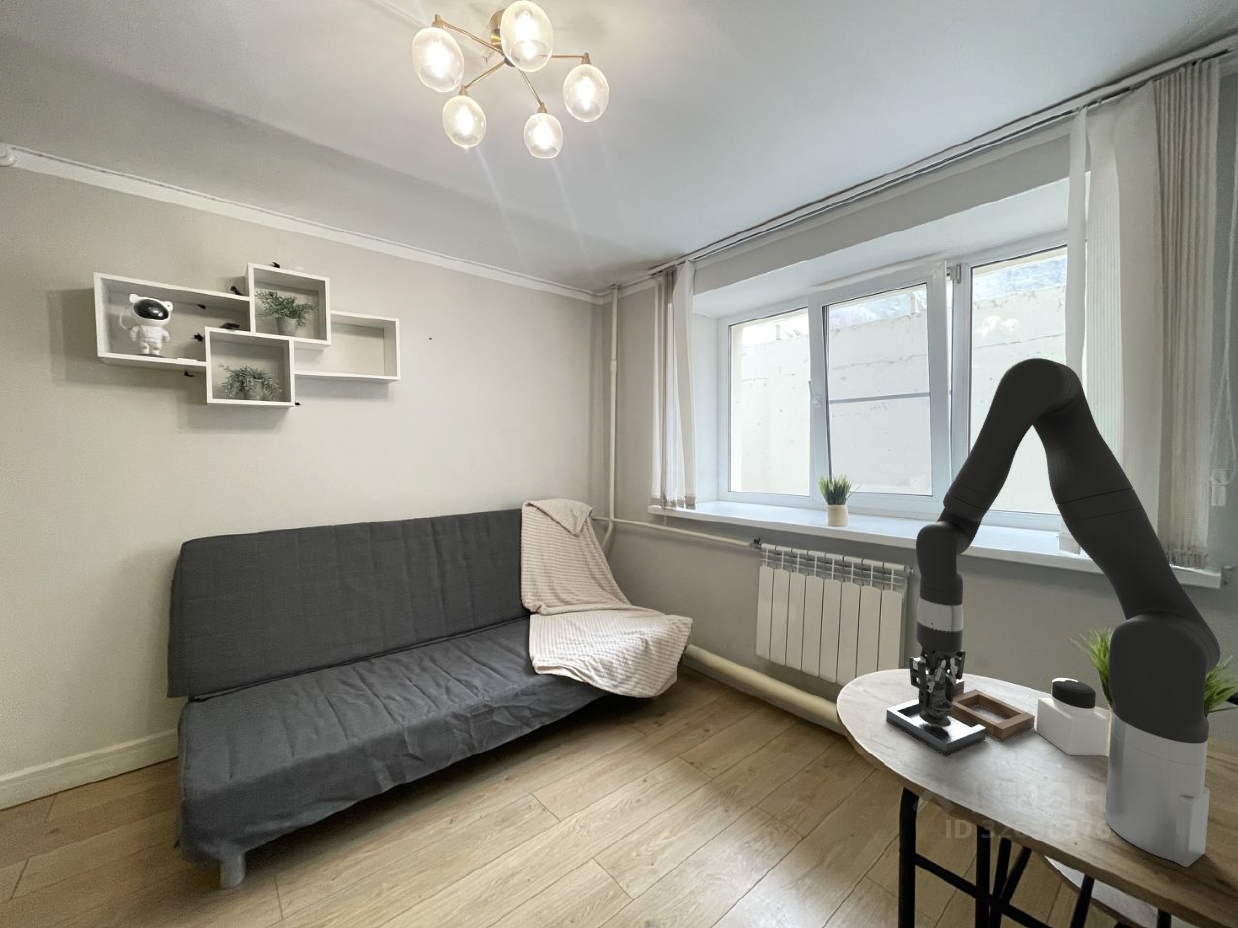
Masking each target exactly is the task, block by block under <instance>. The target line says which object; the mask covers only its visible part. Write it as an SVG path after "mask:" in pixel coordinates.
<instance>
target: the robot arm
mask: <svg viewBox="0 0 1238 928" xmlns="http://www.w3.org/2000/svg"><path fill="white" fill-rule="evenodd" d="M1031 427H1032V428H1033V429H1034V430H1035V432H1036V433H1037V435H1038V438H1039V440H1040V441H1041V444H1042V446H1043V449H1044V453H1045V457H1046V458H1045V459H1046V466H1047V473H1048V476H1047V477H1048V481H1049V487H1050V490H1051V495H1052V497H1053V499H1054V502H1055V505H1056V507H1057V509H1058V512H1059V513H1060V515H1061V518H1062V520H1063V522H1064V524H1065V527H1066V528H1067V530H1068V532H1069V533H1070V535H1071V536H1072V538H1073V540H1075V542H1076V543H1077V545H1079V546H1080V548H1081V549H1082V550H1083V551H1084V553H1086V555H1087V556H1088V557H1089V558H1090V559H1091V561H1093V563H1094V564H1095V565H1096V566H1097V567H1098V568H1099V570H1101V572H1102V573H1103V574H1104V576H1105V577H1106V578H1107V579H1108V582H1109V583H1110V585H1111V586H1112V587H1113V590H1114V592H1115V594H1116V597H1117V599H1118V601H1119V604H1120V607H1121V609H1122V612H1123V614H1124V619H1125V621H1123V622H1121V623H1120V624H1118V625H1117V626H1116V627H1115V629H1114V631H1113V632H1112V634H1111V637H1110V641H1109V642H1110V644H1109V653H1108V654H1109V655H1108V692H1109V695H1110V698H1111V700H1112V701H1111V702H1112V705H1111V706H1112V709H1111V721H1110V732H1109V733H1110V736H1109V737H1110V738H1109V749H1108V761H1107V763H1108V765H1107V777H1106V792H1105V794H1106V795H1105V802H1104V820H1105V822H1106V823H1107V824H1108V826H1109V828H1111V829H1112V830H1113V831H1114V832H1115V833H1116V834H1117V835H1119V836H1120V837H1121V838H1122V839H1124V840H1125V841H1127V842H1129V843H1130V844H1131V845H1133V846H1135V847H1137V848H1138V849H1141V850H1143V851H1145V852H1148V853H1149V854H1152V855H1154V856H1156V857H1160V858H1162V859H1166V860H1170V861H1172V862H1175V863H1176V864H1179V865H1180V866H1182V867H1184V868H1188V867H1190V866H1191V865H1192V864H1194V862H1195V861H1197V860H1198V859H1199V858H1201V857H1202V856H1203V855H1204V854H1205V853H1206V843H1207V830H1208V818H1209V807H1210V806H1209V805H1210V794H1211V791H1210V789H1209V788H1208V787H1207V786H1205V778H1206V777H1205V776H1206V766H1207V765H1206V763H1207V751H1208V741H1209V731H1210V723H1209V720H1208V718H1207V716H1205V711H1204V708H1205V707H1204V706H1205V692H1206V691H1205V690H1206V679H1207V674H1208V673H1210V672H1211V671H1213V670H1214V669H1215V668H1216V667H1217V665H1218V664H1219V662H1220V660H1221V647H1220V644H1219V641H1218V640H1217V637H1216V636H1215V634H1214V632H1213V631H1212V629H1211V627H1209V625H1208V624H1207V622H1206V620H1205V619H1204V617H1203V616H1202V615H1201V613H1200V612H1199V610H1198V609H1197V607H1196V606H1195V604H1194V603H1193V601H1192V600H1191V598H1190V597H1189V596H1188V594H1187V592H1186V591H1185V589H1184V588H1183V586H1182V585H1181V583H1180V581H1179V580H1178V579H1177V577H1176V575H1175V573H1174V571H1173V569H1172V567H1171V565H1170V562H1169V560H1168V557H1167V555H1166V552H1165V551H1164V548H1163V545H1162V544H1161V543H1162V542H1160V539H1159V537H1158V535H1157V533H1156V532H1155V529H1154V527H1153V525H1152V523H1151V520H1150V519H1149V517H1148V514H1147V512H1146V510H1145V508H1144V505H1143V504H1142V502H1141V500H1140V498H1139V496H1138V494H1137V492H1136V490H1135V489H1134V487H1133V484H1132V483H1131V482H1130V480H1129V478H1128V476H1127V475H1126V473H1125V471H1124V469H1123V467H1122V466H1121V464H1120V463H1119V461H1118V460H1117V458H1116V456H1115V455H1114V453H1113V451H1112V450H1111V448H1110V446H1109V445H1108V444H1107V442H1106V440H1105V439H1104V437H1103V436H1102V434H1101V433H1100V431H1099V429H1098V427H1097V424H1096V422H1095V420H1094V416H1093V414H1092V411H1091V409H1090V406H1089V403H1088V399H1087V397H1086V395H1085V391H1084V387H1083V384H1082V382H1081V380H1080V377H1079V376H1078V374H1077V373H1076V372H1075V371H1074V369H1072V368H1071V367H1069V366H1068V365H1066V364H1064V363H1061V362H1057V361H1054V360H1051V359H1048V358H1041V357H1032V358H1026V359H1024V360H1023V359H1022V360H1021V361H1017V362H1016V363H1015V364H1013V365H1012V366H1010V367H1009V368H1007V370H1006V371H1005V372H1004V373H1003V374H1002V377H1001V378H1000V380H999V383H998V385H997V387H996V390H995V392H994V395H993V398H992V401H991V404H990V406H989V409H988V411H987V414H986V417H985V419H984V421H983V424H982V427H981V429H980V431H979V433H978V436H977V438H976V440H975V442H974V445H973V446H972V448H971V450H970V452H969V454H968V456H967V458H966V460H965V461H964V463H963V465H962V466H961V468H960V470H959V471H958V472H957V474H956V476H955V478H954V480H953V482H952V483H951V485H950V486H949V488H948V490H947V492H946V494H945V495H944V497H943V501H942V504H943V506H944V507H943V509H942V512H941V513H940V516H939V517H938V519H937V520H936V521H935V522H932V523H929V524H926V525H924V526H922V528H921V529H920V530H919V531H918V533H917V535H916V540H915V553H916V557H917V558H916V559H917V565H918V569H919V573H920V580H919V599H918V602H917V613H916V614H917V615H916V634H915V635H916V638H915V639H916V641H917V643H918V644H919V645H920V646H921V652H920V654H919V657H917V658H915V657H913V656H910V657H909V660H908V663H909V664H908V666H909V678H910V679H909V680H910V685H911V686H913V687H915V688H916V689H918V696H919V701H918V702H919V705H920V706H921V707H923V708H925V709H927V710H930V709H932V697H933V692H932V690H933V687H934V684H935V682H938V681H939V678H940V675H941V672H942V670H945V683H946V684H947V687H946V688H945V698H946V699H947V700H948V701H950V702H953V687H954V685H955V684H956V682H957V679H958V680H961V679H962V680H963V674H964V667H965V661H966V654H967V652H966V651H965V650H963V649H962V648H963V629H964V609H963V598H964V597H963V596H964V581H963V577H962V575H961V574H960V573H959V572H958V568H957V567H958V566H957V557H958V556H959V555H962V554H964V553H965V552H966V551H967V549H969V547H971V545H972V542H974V540H975V537H976V535H977V534H978V530H979V528H980V526H981V523H982V521H983V518H984V517H985V515H986V514H987V513H988V511H989V510H990V509H991V506H993V503H995V501H996V499H997V497H998V496H999V494H1000V493H1001V491H1002V489H1003V488H1004V486H1005V483H1006V481H1007V480H1008V476H1009V473H1010V472H1011V468H1012V465H1013V461H1014V458H1015V456H1016V453H1017V450H1018V449H1019V446H1020V445H1021V442H1022V441H1023V439H1024V437H1025V436H1026V434H1027V433H1028V432H1029V430H1030V429H1031ZM927 671H929V672H931V673H933V674H934V675H929V674H927V673H926V672H927ZM926 677H927V678H929V682H928V685H927V681H926Z"/></svg>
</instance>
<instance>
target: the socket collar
mask: <svg viewBox="0 0 1238 928" xmlns="http://www.w3.org/2000/svg"><path fill="white" fill-rule="evenodd" d="M951 703H952V704H953V709H952V710H951V712H950V714H949V716H950V715H951V717H953V718H956V719H958V720H959V721H960V722H961V721H962V723H963V722H964V724H966V725H968V726H972V727H974V726H977V725H981V726H983V727H985V728H986V735H988V736H990V737H992V738H994V739H996V740H998V741H1001V742H1004V741H1007V740H1008V739H1011V738H1013V737H1016V736H1019V735H1021V734H1024V733H1026V732H1028V731H1030V730H1032V729H1035V719H1036V717H1035V716H1036V715H1033V714H1031V713H1029V712H1027V711H1025V710H1023V709H1020V708H1018V707H1016V706H1014V705H1011V704H1009V703H1007V702H1005V701H1002V700H1001V699H999V698H997V697H994V696H991V695H990V694H988V693H986V692H982V691H981V690H978V689H977V688H975V689H972V690H969V691H966V692H964V693H963V694H960V695H957V696H954V697H953V702H951ZM977 706H980V707H982V708H983V709H986V710H989V711H990V712H993V713H994V714H996V715H998V716H1001V717H1003V718H1005V720H1002V721H1000V722H998V721H995V720H994V719H991V718H990V717H987V716H986V715H983V714H981V713H980V712H977V711H975V710H973V709H971V708H974V707H977Z"/></svg>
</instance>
